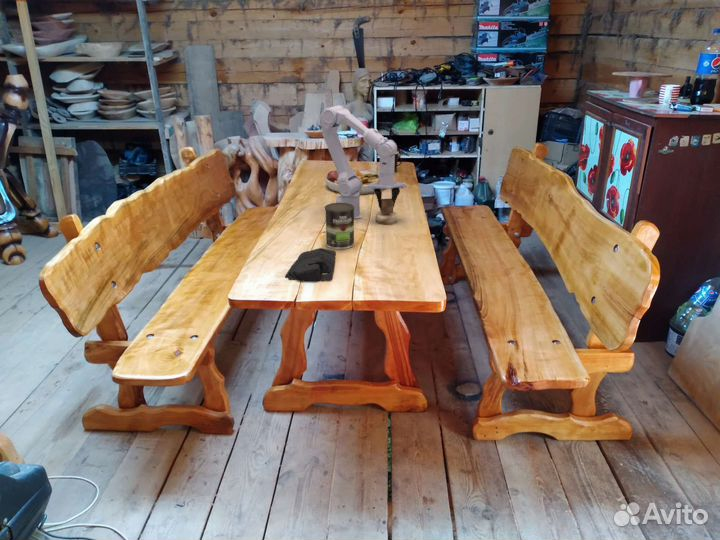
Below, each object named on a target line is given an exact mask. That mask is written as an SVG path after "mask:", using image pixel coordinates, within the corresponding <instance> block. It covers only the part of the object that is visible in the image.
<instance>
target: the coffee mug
mask: <svg viewBox="0 0 720 540" xmlns="http://www.w3.org/2000/svg"><path fill="white" fill-rule="evenodd" d="M399 154H400V152H399V151H398V150H397V151H396V153H395V154H394V155H395V166H394V173H396V172H397V167H399V166H401V164H402V163H403V159H402V158H401V157H400V156H399ZM392 156H393V155H392ZM399 159H400V162H399V164H398V160H399Z"/></svg>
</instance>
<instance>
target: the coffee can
mask: <svg viewBox="0 0 720 540" xmlns="http://www.w3.org/2000/svg"><path fill="white" fill-rule="evenodd" d="M324 210H325V211H324V212H325V242H326V243H325V245H326V247H328V248H330V249H331V250H347V249H351V248H352V247H354V246H355V219H354V206H353V205H352V204H348V203H337V202H332V203H329V204H326V205H325V206H324ZM350 247H351V248H350Z"/></svg>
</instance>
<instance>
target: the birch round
mask: <svg viewBox="0 0 720 540" xmlns="http://www.w3.org/2000/svg"><path fill="white" fill-rule="evenodd" d="M375 223H377V224H378V225H381V226H392V225H396V223H397V212H395V211H393V213H381V211H380V210H379V211H377V212H376V213H375Z"/></svg>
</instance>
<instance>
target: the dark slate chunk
mask: <svg viewBox="0 0 720 540" xmlns="http://www.w3.org/2000/svg"><path fill="white" fill-rule="evenodd" d="M336 255H337V254H336V251H335V249H328V248H327V249H326V248H322V247H318V248H314V249H312V250H307V251H303V252H302V253H300V254H299V256H298V257H297V259H296V260H295V261H294V262H293V263H292V264H291V266H290V268H289V269H288V271H287V272H286V274H284V275H285V276H284V279H285V278H286V279H288V281H300V282H305V283H306V282H308V283H309V282H311V283H317V282H325V281H327V282H330V281H332V279H333V277H334V272H335V265H336Z"/></svg>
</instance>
